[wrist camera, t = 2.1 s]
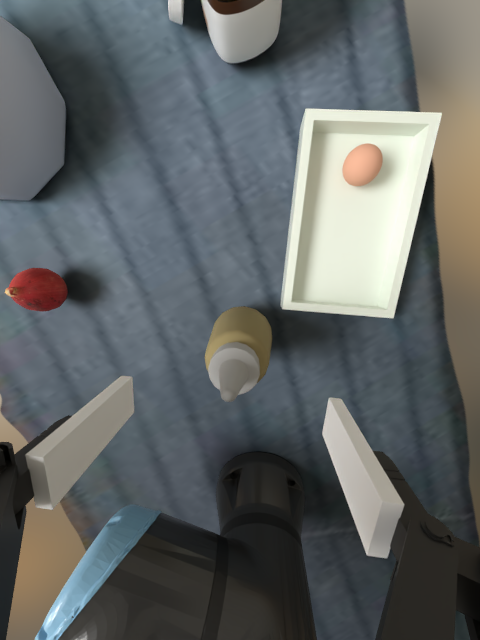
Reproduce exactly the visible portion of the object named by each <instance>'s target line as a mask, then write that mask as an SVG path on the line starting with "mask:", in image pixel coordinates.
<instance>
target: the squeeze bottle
mask: <svg viewBox="0 0 480 640" xmlns="http://www.w3.org/2000/svg"><path fill="white" fill-rule="evenodd" d="M271 344H272V331H271V326H270V324H269V323H268V321H267V319H266V317H265V316H263V315H262V314H261V313H260V312H258V311H257V310H255V309H252V308H249V307H245V306H243V307H233V308H231V309H229V310H227V311H225V312H223V313H222V314H221V315H220V317H219V318H218V319H217V320H216V322H215V324H214V327H213V330H212V333H211V337H210V340H209V343H208V346H207V350H206V353H205V362H206V368H207V370H208V372H209V377H210V379H211V381H212V383H213V384H214V386H215V387H216V388H218V389H219V390H220V392H221V397H222V399H223V400H224V401H227V402H231V401H234V400H235V398H236V397H237V395H238V394H243V393H246V392H248V391H250V390H251V389H252V388H253V387H254V386H255V385H256V384H257V383H258V382H259V381H260V380H261V379H262V377H263V376H264V375H265V373H266V370H267V368H268V365H269V359H270V351H271Z"/></svg>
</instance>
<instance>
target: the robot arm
mask: <svg viewBox="0 0 480 640" xmlns="http://www.w3.org/2000/svg"><path fill="white" fill-rule="evenodd" d="M133 413H134V400H133V381H132V377H129V376H120V377H119V378H118V379H117V380H116V381H114V382H113V383H112V384H111V385H110V386H108V387H107V388H106V389H105V390H103V391H102V392H101V393H100V394H99V395H97V396H96V397H95V398H94V399H93V400H91V401H90V402H89V403H88V404H86V405H85V406H84V407H83V408H82V409H80V410H79V411H78V412H77V413H76V414H74V415H73V416H66V417H64V418H62V419H60V420H58V421H57V422H55V423H54V424H53V425H51V426H50V427H49V428H48V429H47V430H45V431H44V432H43V433H41V434H40V436H37V437H36V438H35V439H34V440H32V441H31V442H30V443H29V444H27V445H26V446H25V447H23V448H22V449H21V450H20V451H18V452H17V453H16V454H15V455H14V451H13V446H12V444H11V443H9V442H0V640H6V635H7V628H8V622H9V616H10V610H11V604H12V598H13V591H14V585H15V579H16V573H17V567H18V560H19V555H20V548H21V541H22V535H23V530H24V524H25V517H26V506H25V505H26V504H27V503H28V502H29V501H30V500H31V499H32V498H33V497H34V501H35V505H36V507H38V508H45V509H51V510H53V509H54V507H55V506H56V505H57V504H58V503H59V501H60V500H61V499H62V498H63V497H64V495H65V494H66V493H67V492H68V491H69V489H70V488H71V487H72V486H73V485H74V483H75V482H76V481H77V480H78V479H79V477H80V476H81V475H82V474H83V473H84V471H85V470H86V469H87V468H88V467H89V466H90V464H91V463H92V462H93V461H94V460H95V458H96V457H97V456H98V455H99V454H100V452H101V451H102V450H103V449H104V448H105V446H106V445H107V444H108V443H109V442H110V440H111V439H112V438H113V437H114V436H115V434H116V433H117V432H118V431H119V430H120V428H121V427H122V426H123V425H124V424H125V422H126V421H127V420H128V419H129V418H130V416H131V415H132V414H133ZM322 434H323V437H324V440H325V443H326V445H327V448H328V451H329V453H330V456H331V459H332V462H333V464H334V467H335V470H336V473H337V475H338V478H339V481H340V483H341V486H342V489H343V492H344V494H345V497H346V500H347V502H348V505H349V508H350V511H351V513H352V516H353V519H354V522H355V524H356V527H357V530H358V532H359V535H360V538H361V541H362V543H363V546H364V549H365V552H366V554H367V556H374V557H381V558H387V557H388V554H389V551H390V548H391V549H392V551H393V553H394V556H395V558H396V560H397V561H396V564H395V567H394V570H393V573H392V576H391V579H390V580H391V582H390V586H389V590H388V594H387V597H386V601H385V605H384V609H383V612H382V616H381V620H380V624H379V628H378V631H377V635H376V639H375V640H454V632H455V611H456V610H457V611H459V612H461V613H463V614H465V619H466V623H467V627H468V631H469V635H470V639H471V640H480V547H477V546H475V545H472V544H470V543H468V542H465V541H463V540H460V539H458V538H456V537H454V535H453V534H452V532H451V531H450V530H449V529H448V528H447V527H446V526H445V525H444V524H443V523H442V522H440V521H439V520H438V519H436V518H435V517H433V516H431V515H429V514H428V513H427V512H426V510H425V509H424V507H423V506H422V504H421V503H420V501H419V500H418V498H417V497H416V495H415V494H414V492H413V491H412V489H411V488H410V486H409V485H408V483H407V482H406V481H405V479H404V477H403V476H402V474H401V473H399V470H398V468H397V467H396V465H395V464H394V463H393V461H392V460H391V459H390V458H389V457H388V456H386V455H385V454H384V453H383V452H379V451H372V450H371V448H370V446H369V445H368V443H367V441H366V440H365V438H364V436H363V435H362V433H361V431H360V430H359V428H358V426H357V425H356V423H355V421H354V420H353V418H352V416H351V414H350V413H349V411H348V409H347V408H346V406H345V404H344V403H343V401H342V399H338V398H329V400H328V406H327V411H326V416H325V422H324V427H323V432H322ZM216 502H217V509H218V517H219V524H220V535H218V534H215V533H213V532H210V531H208V530H205V529H203V528H200V527H197V526H195V525H192V524H190V523H187V522H184V521H182V520H179V519H177V518H174V517H171V516H169V515H166V514H164V513H161V512H162V511H160V510H157V511H154V510H151V509H148V508H145V507H142V506H138V505H127V506H125V507H123V508H122V509H120V510H119V511H118V512H117V513H116V514H115V515H114V516H113V517H112V518H111V519H110V520H109V522H108V523H107V524H106V525H105V527H104V528H103V529H102V531H101V532H100V533H99V535H98V536H97V538H96V539H95V540H94V542H93V543H92V545H91V546H90V547H89V549H88V550H87V552H86V553H85V555H84V556H83V558H82V559H81V561H80V562H79V564H78V565H77V567H76V568H75V570H74V572H73V573H72V575H71V576H70V578H69V580H68V581H67V583H66V584H65V586H64V587H63V589H62V591H61V592H60V594H59V596H58V597H57V599H56V601H55V603H54V604H53V606H52V608H51V609H50V611H49V613H48V615H47V616H46V619H45V621H44V623H43V626H42V627H41V629H40V631H39V632H38V634H37V636H36V638H35V640H317V637H316V631H315V624H314V618H313V612H312V606H311V600H310V593H309V587H308V581H307V575H306V569H305V562H304V556H303V550H302V544H301V531H302V523H303V515H304V507H305V494H304V488H303V483H302V480H301V477H300V475H299V473H298V472H297V470H296V469H295V468H294V467H293V466H292V465H291V464H290V463H289V462H288V461H286V460H285V459H283V458H281V457H279V456H276V455H273V454H270V453H264V452H250V453H245V454H242V455H239V456H237V457H235V458H233V459H232V460H230V461H229V462H228V463H227V464H226V465H225V466H224V467H223V468H222V470H221V472H220V474H219V478H218V483H217V488H216Z"/></svg>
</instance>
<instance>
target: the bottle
mask: <svg viewBox="0 0 480 640" xmlns="http://www.w3.org/2000/svg"><path fill="white" fill-rule="evenodd" d="M65 132H66V106H65V101H64V99H63V97H62V96H61V94H60V92H59V90H58V88H57V87H56V85H55V83H54V81H53V79H52V78H51V76H50V74H49V72H48V71H47V69H46V67H45V65H44V63H43V62H42V60H41V58H40V56H39V54H38V53H37V51H36V49H35V47H34V45H33V44H32V42H31V40H30V38H28V37H27V36H26V35H24V34H23V33H22V32H21V31H19V30H18V29H17V28H15V27H14V26H13V25H11V24H10V23H9V22H8V21H6V20H5V19H4V18H2V17H1V16H0V199H4V200H26V201H30V200H31V199H32V198H33V197H35V196H36V195H37V194H38V193H39V191H40V190H41V189H42V188H43V187H44V186H45V185H46V184H47V183H48V182H49V181H50V179H51V178H52V177H53V176H54V175H55V174H56V173H57V172H58V171H59V170H60V169H61V167H62V166H63V165H64V159H65Z"/></svg>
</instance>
